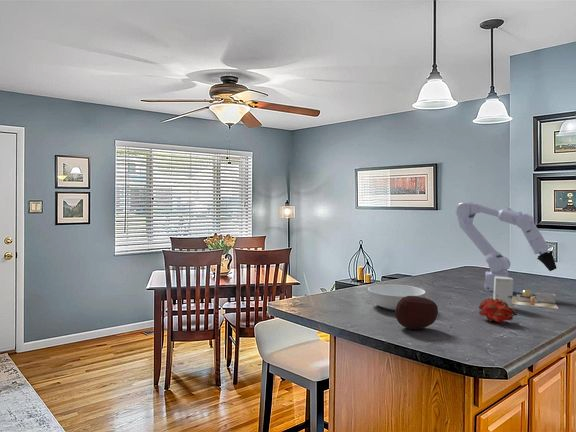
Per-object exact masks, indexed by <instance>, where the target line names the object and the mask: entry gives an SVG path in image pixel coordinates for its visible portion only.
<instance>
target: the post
mask: <svg viewBox="0 0 576 432" xmlns="http://www.w3.org/2000/svg"><path fill="white" fill-rule="evenodd" d="M521 295H522V298H531V296H532V290H530V289H522V294H521Z"/></svg>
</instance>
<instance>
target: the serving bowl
mask: <svg viewBox="0 0 576 432" xmlns="http://www.w3.org/2000/svg"><path fill="white" fill-rule="evenodd" d="M367 293H368V297H369V299H370V300H371V301H372V302H373V303H374V304H375V305H376V306H378V307H381V308H384V309H387V310H389V311H396V306H397V304H398V302H399V301H400V300H401V299H402V298H403V297H406V296H418V297H423V298H426V293H427V292H426V290H424V288H420V287H417V286H412V285H406V284H391V283H387V284H386V283H385V284H375V285H371V286H368V288H367Z"/></svg>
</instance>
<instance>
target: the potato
mask: <svg viewBox="0 0 576 432" xmlns="http://www.w3.org/2000/svg"><path fill="white" fill-rule="evenodd" d="M394 311H395V312H394V313H395V314H394V315H395V319H396V320H397V322H398V323H399V325H401V327H403V328H407V329H409V330H419V329H424V328H427V327H429V326H431V325H432V324H434V323H435V322H436V320H437V318H438V316H439V315H438V313H439V309H438V305H437V303H436V302H435V301H434V300H432V299H430V298H427V297H425V298H423V297H418V296H406V297H403V298H402V299H401V300H400V301H399V302H398V304H397V306H396V310H394Z"/></svg>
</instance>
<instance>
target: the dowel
mask: <svg viewBox="0 0 576 432" xmlns="http://www.w3.org/2000/svg"><path fill="white" fill-rule="evenodd" d="M531 305H535V297H531Z"/></svg>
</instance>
